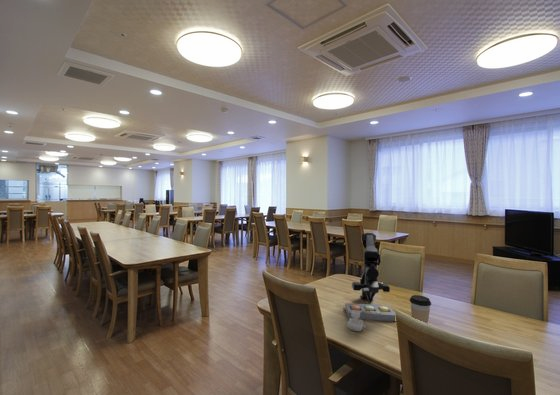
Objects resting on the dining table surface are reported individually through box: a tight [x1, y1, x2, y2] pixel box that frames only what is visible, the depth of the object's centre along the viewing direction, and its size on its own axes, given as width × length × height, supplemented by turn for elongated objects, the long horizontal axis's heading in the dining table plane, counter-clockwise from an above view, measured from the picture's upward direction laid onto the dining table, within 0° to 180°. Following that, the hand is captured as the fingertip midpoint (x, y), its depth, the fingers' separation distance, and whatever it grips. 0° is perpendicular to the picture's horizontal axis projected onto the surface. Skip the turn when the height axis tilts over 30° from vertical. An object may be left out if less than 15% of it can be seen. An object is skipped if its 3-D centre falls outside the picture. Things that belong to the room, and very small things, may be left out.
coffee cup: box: [408, 294, 432, 324], centre depth 135 cm, size 9×9×15 cm
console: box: [344, 302, 396, 322], centre depth 150 cm, size 13×24×3 cm, turn 86°
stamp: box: [345, 310, 366, 332], centre depth 133 cm, size 9×7×8 cm
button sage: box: [365, 306, 374, 311], centre depth 150 cm, size 4×4×3 cm
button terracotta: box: [351, 305, 360, 310], centre depth 151 cm, size 4×4×3 cm
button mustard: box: [380, 306, 389, 312], centre depth 150 cm, size 4×4×3 cm
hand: (369, 303), depth 150 cm, fingers closed
